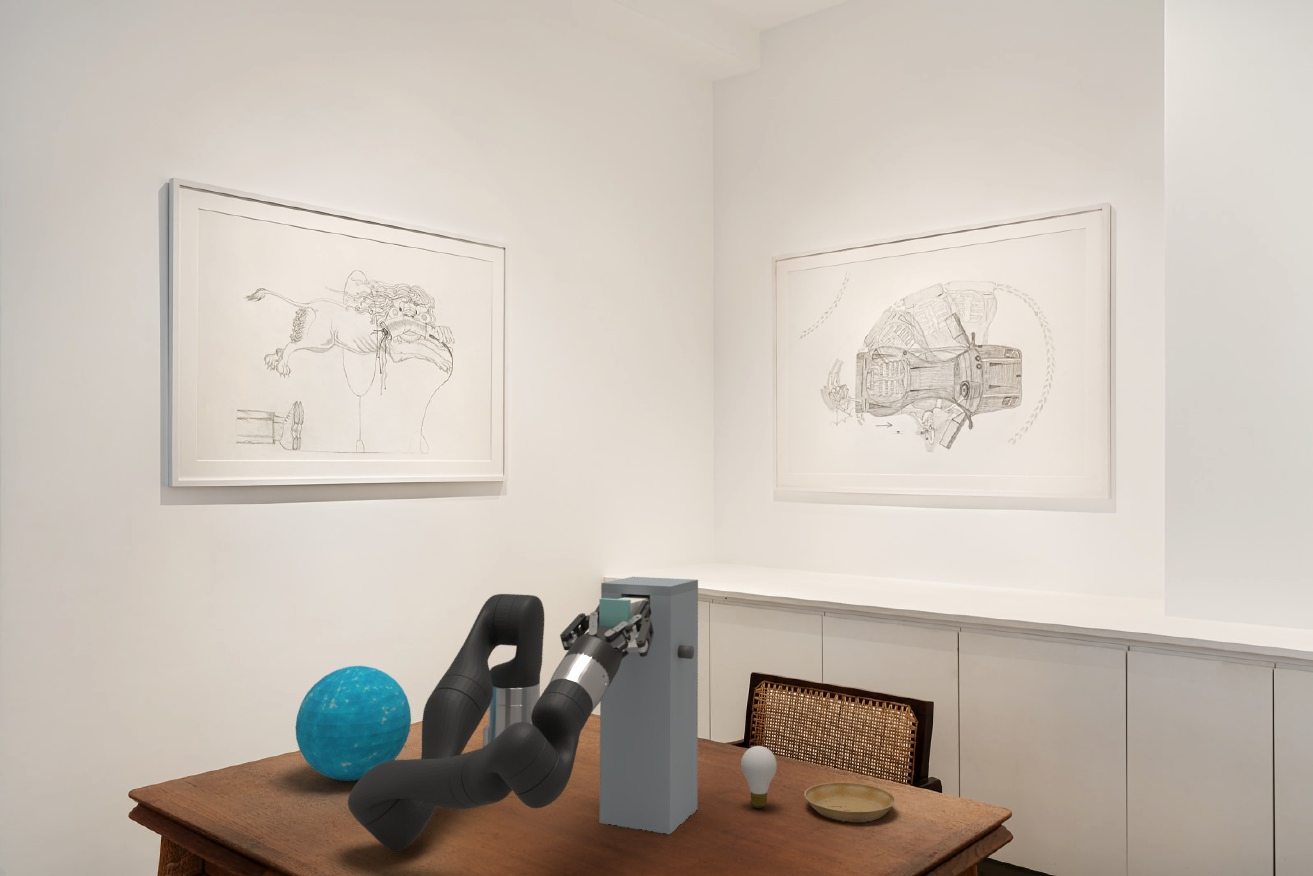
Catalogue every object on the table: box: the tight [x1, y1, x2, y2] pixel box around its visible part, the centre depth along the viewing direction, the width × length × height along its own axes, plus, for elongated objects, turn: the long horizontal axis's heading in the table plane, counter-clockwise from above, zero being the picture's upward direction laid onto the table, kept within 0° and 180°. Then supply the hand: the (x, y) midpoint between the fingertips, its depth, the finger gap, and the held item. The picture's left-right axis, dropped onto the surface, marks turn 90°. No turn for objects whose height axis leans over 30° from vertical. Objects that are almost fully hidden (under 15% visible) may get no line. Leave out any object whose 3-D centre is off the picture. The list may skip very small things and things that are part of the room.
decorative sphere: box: [294, 665, 412, 782], centre depth 168 cm, size 20×20×20 cm
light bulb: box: [740, 745, 778, 809], centre depth 153 cm, size 6×6×10 cm
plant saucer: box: [803, 781, 897, 823], centre depth 152 cm, size 15×15×3 cm
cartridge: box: [598, 594, 650, 632], centre depth 146 cm, size 5×19×5 cm, turn 157°
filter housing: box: [598, 576, 699, 835], centre depth 150 cm, size 16×12×38 cm
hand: (627, 604), depth 142 cm, fingers open, 5 cm apart
